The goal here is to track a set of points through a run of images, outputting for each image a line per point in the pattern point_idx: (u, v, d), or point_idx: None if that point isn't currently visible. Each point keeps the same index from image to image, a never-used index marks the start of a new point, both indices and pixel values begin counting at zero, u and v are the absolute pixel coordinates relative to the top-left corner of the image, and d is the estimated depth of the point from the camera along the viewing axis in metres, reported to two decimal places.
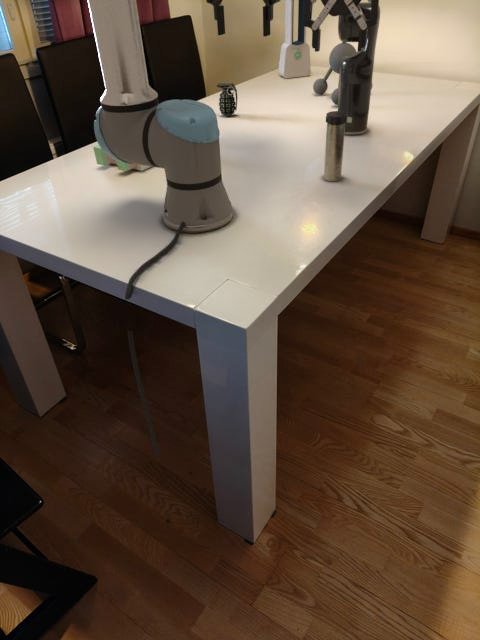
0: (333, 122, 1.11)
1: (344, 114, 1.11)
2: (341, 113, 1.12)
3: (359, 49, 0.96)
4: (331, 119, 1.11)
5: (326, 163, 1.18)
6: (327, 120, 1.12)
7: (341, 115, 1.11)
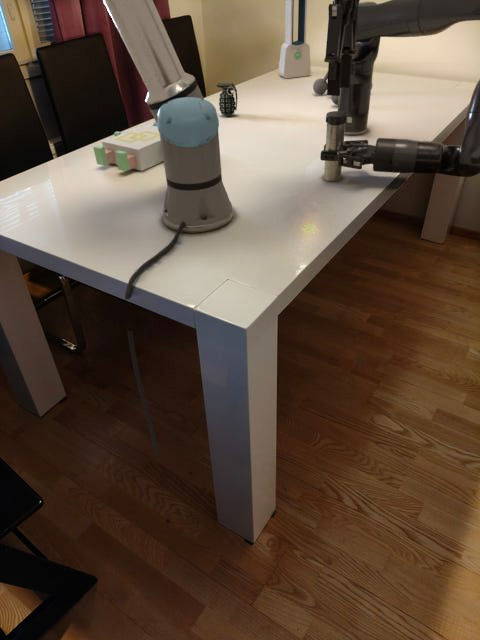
0: (333, 122, 1.11)
1: (344, 114, 1.11)
2: (341, 113, 1.12)
3: None
4: (331, 119, 1.11)
5: (326, 163, 1.18)
6: (327, 120, 1.12)
7: (341, 115, 1.11)
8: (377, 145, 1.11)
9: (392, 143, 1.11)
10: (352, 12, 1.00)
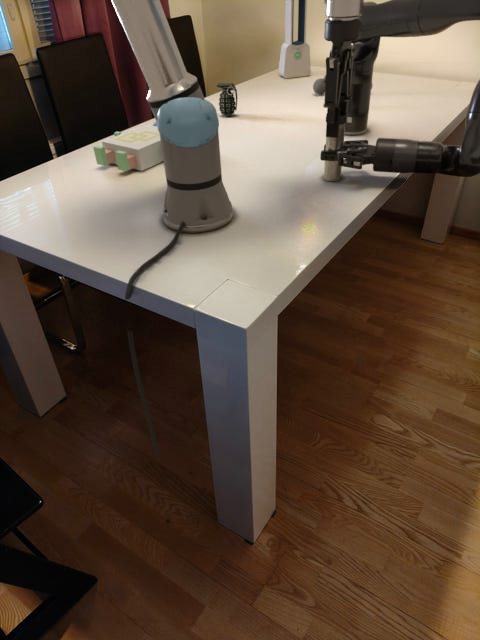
0: None
1: (344, 114, 1.11)
2: (341, 113, 1.12)
3: None
4: None
5: (326, 163, 1.18)
6: None
7: (341, 115, 1.11)
8: (377, 145, 1.11)
9: (392, 143, 1.11)
10: (348, 60, 1.06)
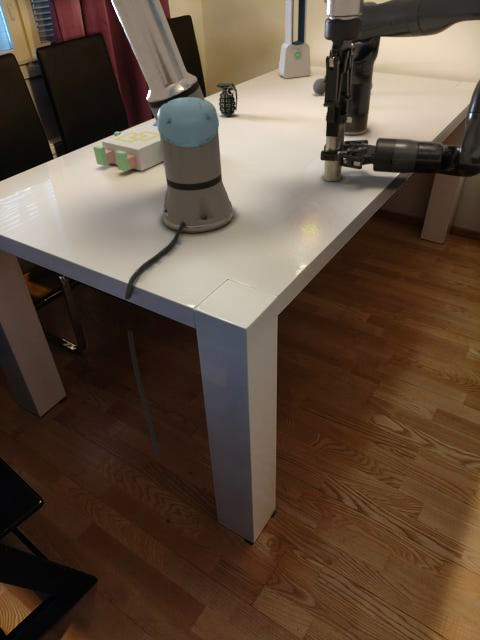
0: (346, 119, 1.12)
1: None
2: None
3: None
4: None
5: (326, 163, 1.18)
6: (343, 120, 1.11)
7: (341, 111, 1.13)
8: (377, 145, 1.11)
9: (392, 143, 1.11)
10: (348, 60, 1.06)
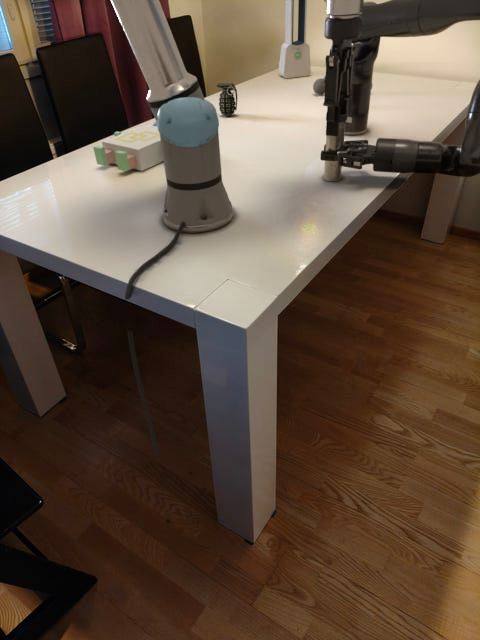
0: None
1: None
2: None
3: None
4: None
5: (326, 163, 1.18)
6: None
7: None
8: (377, 145, 1.11)
9: (392, 143, 1.11)
10: (348, 59, 1.05)
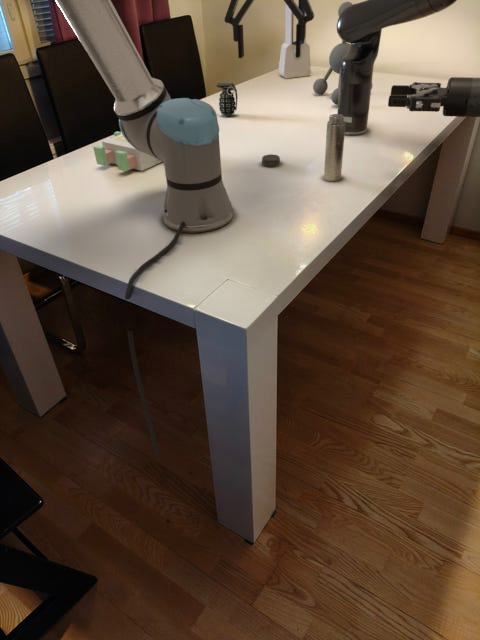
0: (276, 164, 1.29)
1: (276, 155, 1.31)
2: (272, 156, 1.31)
3: None
4: (274, 162, 1.29)
5: (326, 163, 1.18)
6: (269, 164, 1.29)
7: (277, 157, 1.30)
8: (451, 84, 1.00)
9: (468, 81, 0.99)
10: None
